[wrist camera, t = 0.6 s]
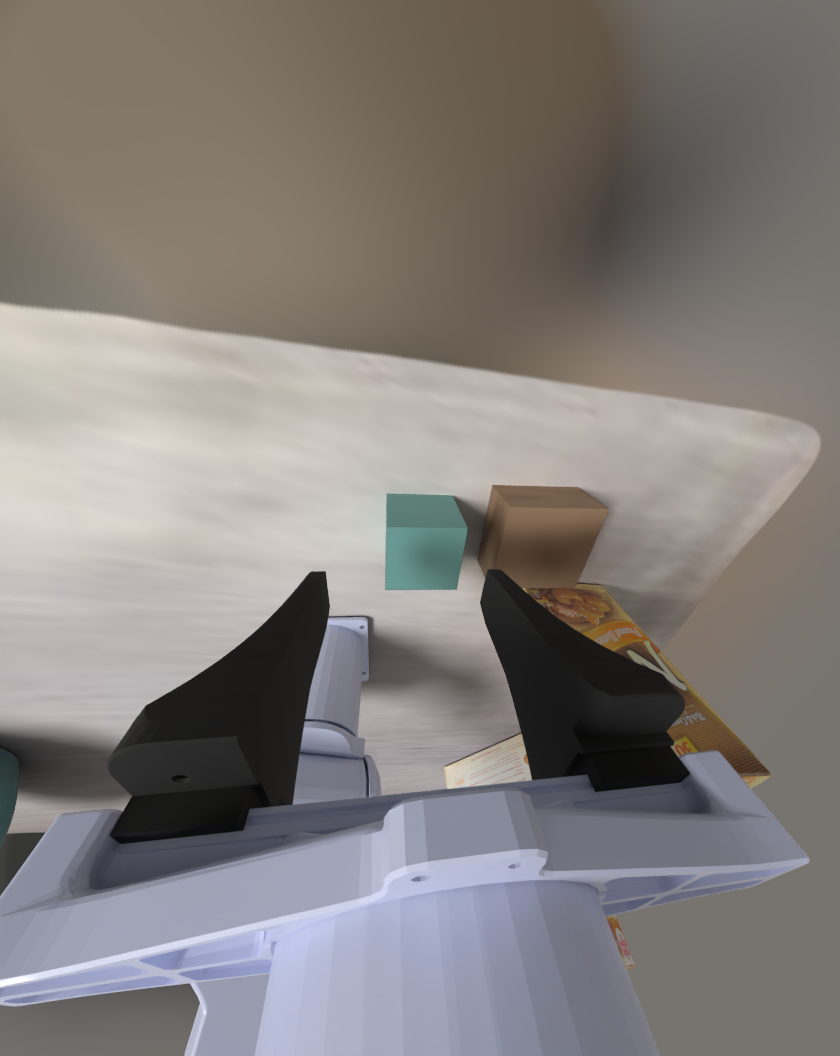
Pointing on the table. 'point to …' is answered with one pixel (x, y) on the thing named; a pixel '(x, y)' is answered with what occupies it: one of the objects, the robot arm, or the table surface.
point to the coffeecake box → (506, 767)
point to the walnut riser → (540, 534)
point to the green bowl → (7, 790)
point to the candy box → (619, 633)
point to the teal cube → (423, 542)
